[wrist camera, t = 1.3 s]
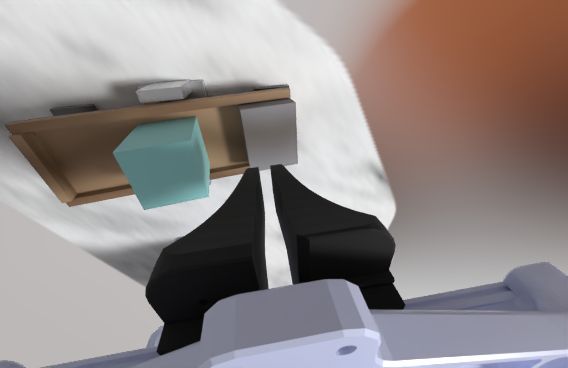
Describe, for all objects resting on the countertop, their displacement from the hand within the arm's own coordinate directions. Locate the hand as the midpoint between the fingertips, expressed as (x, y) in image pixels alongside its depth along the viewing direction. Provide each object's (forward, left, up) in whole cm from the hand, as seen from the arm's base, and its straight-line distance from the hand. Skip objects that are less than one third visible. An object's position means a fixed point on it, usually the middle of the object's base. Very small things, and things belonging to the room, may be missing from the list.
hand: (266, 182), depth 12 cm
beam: (0, +7, -8) cm, 11 cm away
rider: (0, +7, -7) cm, 10 cm away
